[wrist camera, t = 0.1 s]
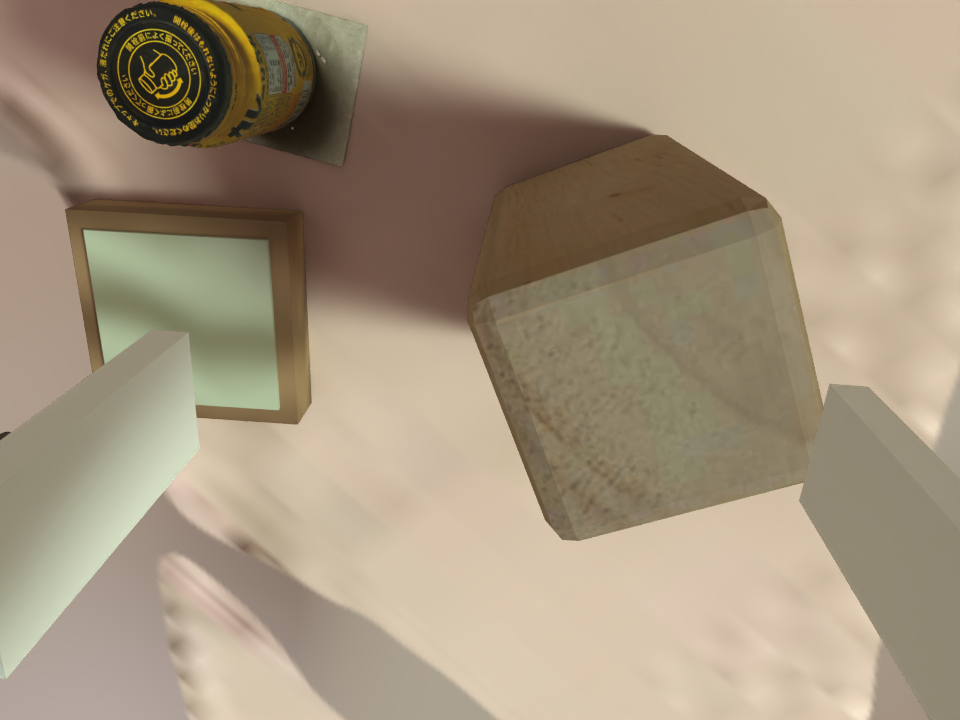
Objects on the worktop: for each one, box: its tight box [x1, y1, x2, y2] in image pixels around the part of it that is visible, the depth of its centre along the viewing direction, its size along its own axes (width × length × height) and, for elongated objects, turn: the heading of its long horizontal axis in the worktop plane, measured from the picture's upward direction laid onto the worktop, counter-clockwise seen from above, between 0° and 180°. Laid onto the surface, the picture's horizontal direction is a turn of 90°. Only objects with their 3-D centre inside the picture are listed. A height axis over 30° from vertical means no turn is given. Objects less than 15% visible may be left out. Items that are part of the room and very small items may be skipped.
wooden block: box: [467, 135, 823, 541], centre depth 33 cm, size 10×10×20 cm
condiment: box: [97, 0, 368, 167], centre depth 35 cm, size 7×8×12 cm
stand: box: [65, 199, 312, 424], centre depth 44 cm, size 12×12×3 cm
